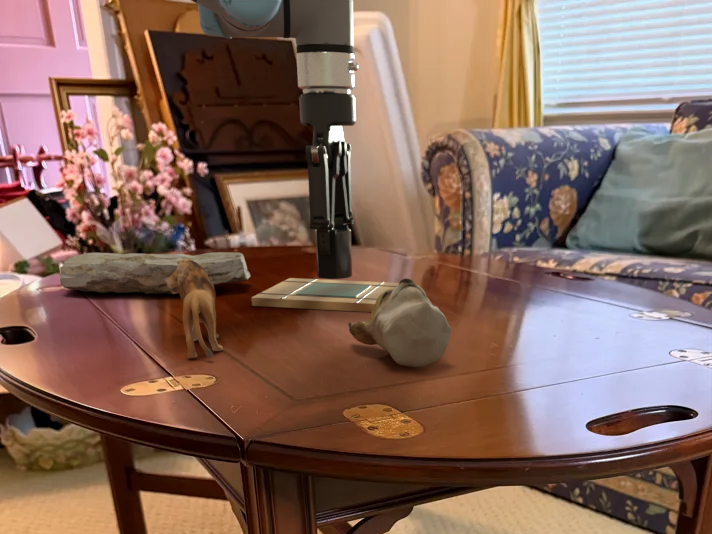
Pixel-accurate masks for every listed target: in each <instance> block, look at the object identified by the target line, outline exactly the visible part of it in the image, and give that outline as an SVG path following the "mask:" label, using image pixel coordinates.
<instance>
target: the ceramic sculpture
mask: <svg viewBox="0 0 712 534" xmlns="http://www.w3.org/2000/svg"><path fill="white" fill-rule="evenodd" d="M398 283H399V285H398V286H397V287H395V289H389V290H386V291H385V292H383V293H382V294H381V295H380V296H379V297H378V298H377V300H376V303H375V306H374V308H373V310H372V312H370V316H369V319H368V320H366V321H357V322H348V332H349V333H350V334H351V336H352V337H353V339H355V340H356V341H357V342H359V343H360V344H363V345H368V346H375V345H378V346H379V347H380V348H382V349H383V350H385V351H387V352H388V354H389V355H390V357H391V358H392V360H393V361H394V362H395V363H396V364H398V365H401V366H405V367H410V368H422V367H426V366H428V365H431V364H435V363H436V362H438V361H439V360H440V359H441V358H442V357H443V356H444V354H445V353H446V351H447V349H448V346H449V344H450V343H449V342H450V338H451V334H452V328H451V326H450V325H449V322H448V320H447V318H446V316H445V314H444V313H443V312H442V311H441V309H439V307H438V306H436V305H434V304H433V303H432V301H431V300H430V299H429V297H427V295H426V292H425V290H424V289H423V288H422V286H420V285H419V284H417V283H415V282H414V280H412V279H410V278H402V279H401V280H400V281H399V282H398Z"/></svg>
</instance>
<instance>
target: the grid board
mask: <svg viewBox="0 0 712 534" xmlns="http://www.w3.org/2000/svg"><path fill="white" fill-rule="evenodd" d="M399 283H400V282H387V281H386V282H385V281H367V280H366V281H365V280H364V281H363V280H361V281H360V280H345V279H323V278H298V277H297V278H296V277H289V278H287V279H285V280H282V281H281V282H278V283H276V284H275V285H273V286H271V287H269V288H267V289H264V290H263V291H261V292H258V293H257V294H256V295H255V294H254V295H253V296H251V306H252V307H265V308H283V309H284V308H285V309H304V310H321V311H342V312H357V313H358V312H360V313H361V312H362V313H372V310H373V308H374V306H375V303H376V300H377V298H378V297H379V296H380V295H381V294H382V293H383V292H385V291H386V290H389V289H395V287H397V286H398V285H399Z"/></svg>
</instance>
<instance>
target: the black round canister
mask: <svg viewBox="0 0 712 534" xmlns="http://www.w3.org/2000/svg"><path fill="white" fill-rule="evenodd" d="M333 230H337V255H338V278H337V279H336V280H345V279H348V278H351V277H353V250H352V249H353V248H352V229H351V228H349V227H348V228H334V229H333ZM314 239H315V241H314V242H315V258H316V274H317V277H318V278H319V269H318V249H317V230H314ZM323 280H333V279H332V278H323Z"/></svg>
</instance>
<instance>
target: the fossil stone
mask: <svg viewBox="0 0 712 534" xmlns="http://www.w3.org/2000/svg"><path fill="white" fill-rule="evenodd" d="M184 259H190V260H193V261H194V262H196V263H198V264H199V265H200V266H202V267H203V270H204V271H205V272H206V273H207V275H208V277H209V279H210V281H211V282H212V283H213V285H214V286H215V285H218V284H227V283H228V284H229V283H238V282H245V281H246V282H247V281H248V280H249V278H251V273H250V272H249V270H248V266H247V262H246V260H245V259H246V258H245V256H244V254H243V253H242V252H239V251H238V252H236V251H235V252H233V251H232V252H231V251H229V252H225V251H224V252H223V251H217V252H206V253H205V252H204V253H202V254H196V255H190V254H185V253H160V254H159V253H131V252H129V253H112V252H86V253H82V254H78V255H74V256H71V257H69V258H67V259H66V260H65V261H64V263H63V265H62V266H60V268H59V269H60V270H59V271H60V278H59V281H60V285H61V286H62V287H63V288H65V289H68V290H73V291H80V292H81V291H82V292H96V293H99V294H109V293H117V294H119V293H129V294H131V293H139V294H143V293H144V294H146V295H149V294H153V295H154V294H155V295H158V293H159V294H168V295H174V294H173V293H172V290H171V289H170V288H169V287H168V286H167V283H166V282H165V280H166V279H167V278H168V277H170V276H171V275H172V274H173V272H174V271H175V270H176V269H177V265H178V264H177V262H178V261H179V260H184Z"/></svg>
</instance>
